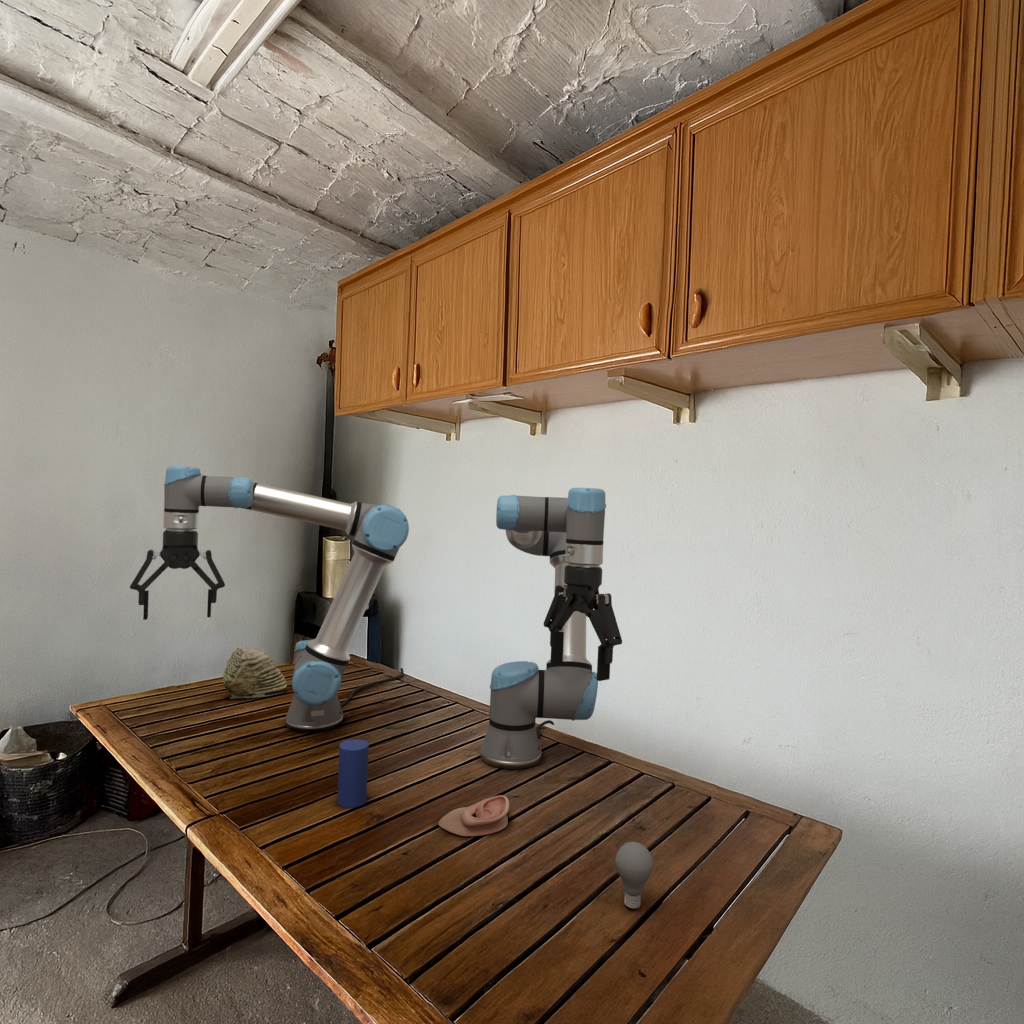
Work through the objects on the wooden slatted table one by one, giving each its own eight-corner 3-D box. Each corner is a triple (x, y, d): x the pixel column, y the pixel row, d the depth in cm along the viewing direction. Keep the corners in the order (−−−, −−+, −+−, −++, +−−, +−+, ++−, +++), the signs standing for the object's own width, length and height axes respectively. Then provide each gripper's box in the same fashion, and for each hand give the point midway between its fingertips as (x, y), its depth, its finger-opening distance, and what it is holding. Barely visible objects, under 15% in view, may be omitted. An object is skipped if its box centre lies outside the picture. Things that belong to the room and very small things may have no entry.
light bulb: (609, 894, 104) (612, 834, 104) (645, 894, 105) (647, 834, 105) (618, 918, 98) (621, 854, 98) (656, 918, 99) (659, 854, 99)
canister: (363, 792, 136) (365, 737, 136) (369, 805, 131) (371, 748, 131) (334, 797, 134) (337, 741, 134) (340, 810, 129) (342, 751, 128)
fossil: (218, 695, 195) (220, 647, 195) (278, 685, 208) (279, 640, 207) (228, 703, 189) (230, 653, 188) (289, 692, 201) (290, 645, 201)
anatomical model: (433, 811, 121) (451, 785, 132) (432, 831, 121) (450, 804, 133) (501, 821, 119) (513, 794, 130) (500, 842, 119) (512, 813, 130)
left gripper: (118, 530, 144) (115, 622, 145) (237, 531, 155) (234, 618, 156) (122, 528, 151) (119, 616, 151) (236, 530, 162) (233, 612, 162)
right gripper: (530, 559, 134) (525, 659, 134) (616, 572, 114) (610, 690, 114) (556, 558, 138) (552, 655, 139) (644, 571, 118) (638, 684, 119)
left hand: (177, 617), depth 154 cm, fingers open, 13 cm apart
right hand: (578, 671), depth 126 cm, fingers open, 13 cm apart
